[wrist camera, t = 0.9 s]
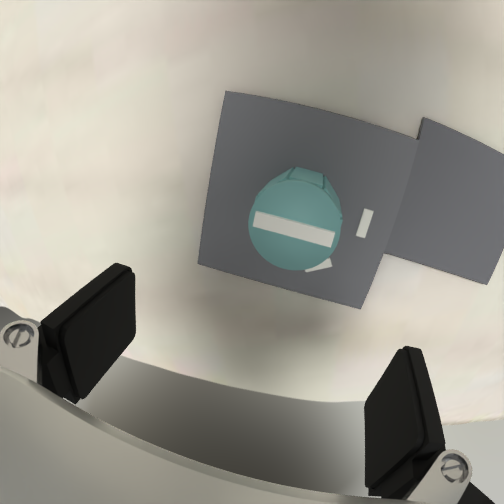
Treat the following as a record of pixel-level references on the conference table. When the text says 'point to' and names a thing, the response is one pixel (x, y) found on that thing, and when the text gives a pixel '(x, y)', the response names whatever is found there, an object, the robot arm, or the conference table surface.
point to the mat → (452, 205)
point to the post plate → (315, 159)
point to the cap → (296, 220)
